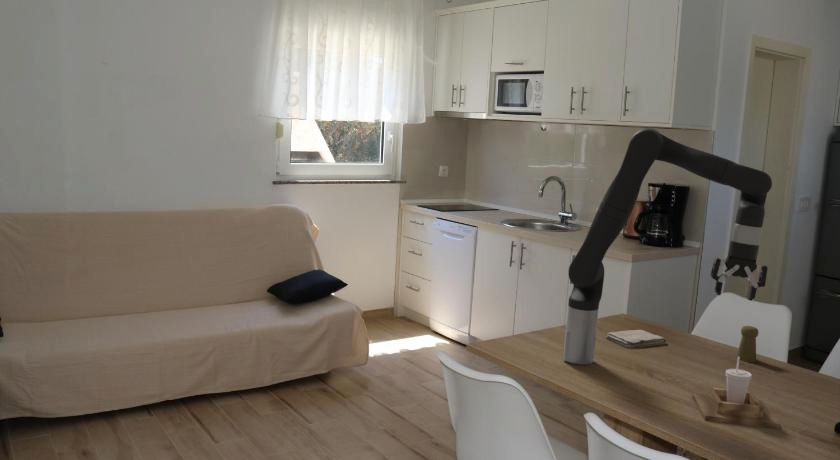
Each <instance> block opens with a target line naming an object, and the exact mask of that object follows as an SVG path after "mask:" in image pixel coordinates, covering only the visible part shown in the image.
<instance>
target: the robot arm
mask: <svg viewBox="0 0 840 460" xmlns="http://www.w3.org/2000/svg"><path fill="white" fill-rule="evenodd" d="M655 161H660V162H663V163H664V162H665V163H668V164H671V165H674V166H677V167H679V168H682V169H684V170H686V171H688V172H690V173H692V174H694V175H696V176H699V177H701V178H703V179H706V180H709V181H711V182H714V183H716V184H720V185H722V186H728V187H730V188H733V189H735V190H738V191H740V195H739V196H740V198H739V205H738V208H737V212H736V216H735V221H734V226H733V229H732V232H731V235H730V241H729V246H728V253H727V257H726V258H725V259H723V258H719V257H715V258H714V259H713V263H712V267H711V270H710V271H711V272H710V277H711V278H712V279H713V280H715V285H714V292H715V293H716V295H717V296H721V295H722V289H723V284H724V283H723V281H725V280H726V279H728V278H729V277H730V276H731V277H732V276H733V277H740V278H743V279H745V278H747V280H748V281H749V284H750V286H749V288H748V289H749V290H748V295H747V301H753V300H755V298H756V294H757V289H758V288H760V287H761V288H763V287H765V286H766V282H767V274H768V266H767V265H765V264H757V260H758V259H757V258H758V254H759V249H760V245H761V241H762V240H761V238H762V233H763V232H762V229H763V224H764V219H765V215H766V211H765V206H766V205H765V204H766V200H767V195H768V194H769V192H770V190H771V189H772V187H773V186H772V185H773V181H772V177H771V176H770V175H769V174H768V173H767V172H765V171H762V170H760V169H756V168H752V167H750V166H746V165H743V164H739V163H737V162H735V161H732V160H730V159H728V158H725V157H721V156H719V155H716V154H713V153H710V152H706V151H704V150H699V149H697V148H695V147H694V148H693V147H691V146H687V145H684V144H682V143H680V142H677V141H675V140H673V139H671V138H669V137H667V136H666V135H664V134H662V133H661V132H659V131H658V130H657V129H654V128H651V127H649V128H647V127H645V128H641V129H639V130H638V131H636V132H635V133H634V134H633V135H632V136H631V138H630V139H629V141H628V146H627V149H626V151H625V154H624V158H623V160H622V163H621V165H620V168H619V170H618V172H617V174H616V175H615V177H614V179H613V180H612V181H611V183H610V185H609V187H608V188H607V190H606V192H605V194H604V195H603V198H602V200H601V202H600V203H599V206H598V208H597V210H596V213H595V215H594V217H593V218H592V219H593V220H592V222H591V225H590V227H589V228H588V229H589V230H588V232H587V234H586V237H585V239H584V241H583V242H582V245H581V246H580V247H579V250H578V252H577V253H576V255H575V256H574V258H573V259H572V261H571V263H570V265H569V266H568V279H569V281H570V282H571V284H572V285H573V286H572V290H571V293H570V295H569V298H568V302H567V303H568V304H567V317H566V326H565V333H564V343H563V345H564V346H563V355H562V356H563V362H566V361H567V363H570V364H574V365H581V366H582V365H586V366H587V365H591V364H594V361H595V360H594V358H595V349H596V341H597V340H596V338H597V328H598V319H599V307H600V302H601V299H602V296H603V289H604V280H605V265H604V263H603V261H604V258H605V256H606V253H607V252H608V250H609V249H610V247H611V246H612V244H613V243H614V242H615V240H616V239H617V238H618V237H619V235H620V234H621V232H622V230H623V229H624V228H625V226H626V224H627V223H628V221H629V219H630V216H631V215H632V212H633V210H634V208H635V206H636V204H637V203H636V202H637V199H638V197H639V194H640V190H641V187H642V183H643V181H644V179H645V177H646V175H647V174H648V172H649V170H650V169H651V167H652V166H653V164H654V162H655ZM723 265H724V266H725V269H724V270H723V271H722V272H721V273H720V274H719V275H718V273H719V270H720V267H722V266H723ZM756 270H757V272H758V273H759V275H758V281H756V279H755V276H754V275H753V273H754V272H755V271H756Z"/></svg>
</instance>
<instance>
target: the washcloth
mask: <svg viewBox="0 0 840 460" xmlns="http://www.w3.org/2000/svg"><path fill="white" fill-rule="evenodd" d="M606 338H607V339H606ZM605 339H606V340H608V341H610V342H612V343H614V344H617V345H619V346H621V347H624V348H626V349H627V348H629V349H630V348H631V349H633V348H640V347H641V348H642V347H643V348H644V347H650V346H658V345H665V344H666V343H667V339H666V338H665V337H663V336H661V335H657V334H653V333H651V332H648V331H646V330H643V329H636V330H635V329H634V330H633V329H630V330H629V329H628V330H621V331H610V332H609V331H608V332H607V333H606V337H605Z"/></svg>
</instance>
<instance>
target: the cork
mask: <svg viewBox="0 0 840 460" xmlns="http://www.w3.org/2000/svg"><path fill="white" fill-rule="evenodd" d="M740 334H741V339H740V342H739V346H738V350H737V353H736V356H735V358H736V359H737V357H740V360H739V361H742V362H747V363H756V362H757V337H758V336H759V330H758V328H757V327H756V326H753V325H752V326H751V325H743V326H742V327H741V329H740Z"/></svg>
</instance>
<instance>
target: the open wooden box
mask: <svg viewBox="0 0 840 460" xmlns="http://www.w3.org/2000/svg"><path fill="white" fill-rule="evenodd" d="M691 396H692V400H693V401H694V403H695V405H696V407H697V408H698V410H699V412H700V414H701V416H702V418H703V419H704V421H709V422H717V423H718V422H719V423H726V424H734V425H735V424H736V425H742V426H743V425H744V426H752V427H753V426H754V427H761V428H771V429H777V430H778V429H780V427H781V424H780V422H779V421H778V419H776V417H775V416H774V415H773V413H772V412H771V411H770V409H769V408H768V407H767V406H766V405H765V403H764V402H763V401H762V400H759V399H758V397H756V395H755V394H754V393H753V392H752V391H748V390H747V393H746V397H745V400H744V404H740V403H731V402H727V388H720V387H719V388H718V387H708V394H704V393H695V392H692V395H691Z"/></svg>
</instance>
